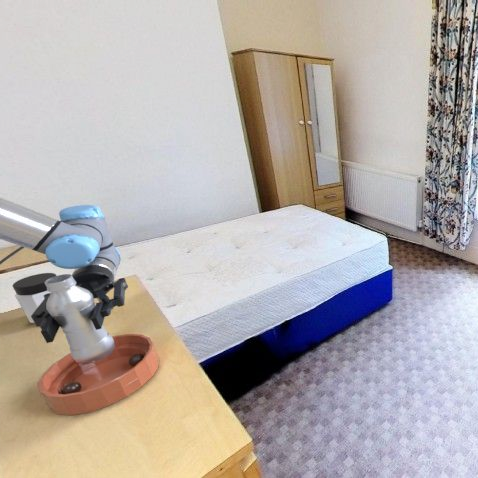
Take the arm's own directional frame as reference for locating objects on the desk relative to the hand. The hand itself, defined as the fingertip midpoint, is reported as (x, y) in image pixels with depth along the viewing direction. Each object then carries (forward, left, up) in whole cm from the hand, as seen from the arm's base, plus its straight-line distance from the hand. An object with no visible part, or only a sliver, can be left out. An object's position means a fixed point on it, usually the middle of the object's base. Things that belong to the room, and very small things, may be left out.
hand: (72, 330), depth 62 cm
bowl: (-5, +1, -18) cm, 19 cm away
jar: (-48, -4, -19) cm, 52 cm away
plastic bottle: (-5, +1, -11) cm, 12 cm away
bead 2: (-5, +7, -18) cm, 19 cm away
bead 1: (-5, -4, -18) cm, 19 cm away
